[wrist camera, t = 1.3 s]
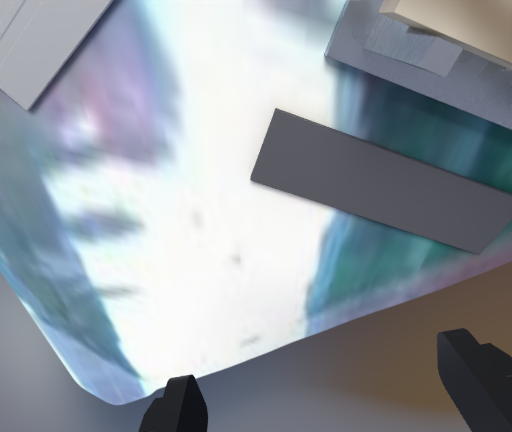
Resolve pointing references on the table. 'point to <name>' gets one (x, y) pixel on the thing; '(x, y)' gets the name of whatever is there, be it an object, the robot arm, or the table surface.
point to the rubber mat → (379, 184)
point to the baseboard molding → (41, 42)
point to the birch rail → (461, 24)
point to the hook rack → (421, 62)
